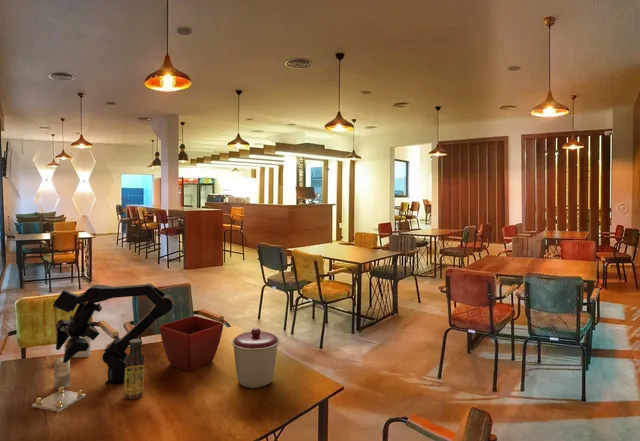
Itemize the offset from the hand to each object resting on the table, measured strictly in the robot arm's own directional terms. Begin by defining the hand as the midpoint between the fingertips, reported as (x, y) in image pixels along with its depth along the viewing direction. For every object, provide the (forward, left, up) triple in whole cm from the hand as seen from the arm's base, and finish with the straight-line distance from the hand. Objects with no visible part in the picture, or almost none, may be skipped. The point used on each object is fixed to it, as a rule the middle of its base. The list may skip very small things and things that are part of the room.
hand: (60, 356), depth 149 cm
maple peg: (0, 0, -11) cm, 11 cm away
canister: (-66, -25, -12) cm, 72 cm away
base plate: (-9, +9, -11) cm, 17 cm away
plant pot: (-33, -33, -12) cm, 48 cm away
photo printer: (+18, -24, -12) cm, 32 cm away
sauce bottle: (-30, -2, -12) cm, 32 cm away
